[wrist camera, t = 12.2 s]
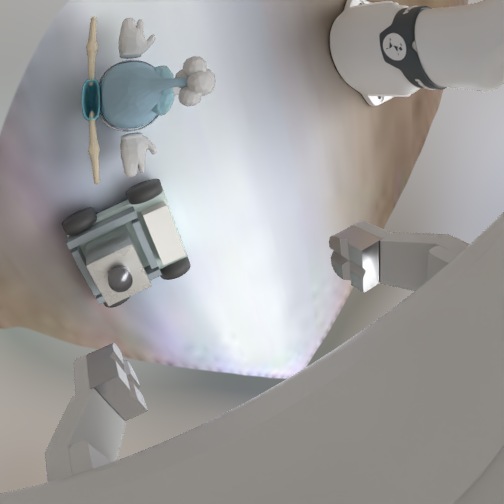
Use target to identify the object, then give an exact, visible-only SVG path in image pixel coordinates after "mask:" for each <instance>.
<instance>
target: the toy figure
mask: <svg viewBox="0 0 504 504" xmlns="http://www.w3.org/2000/svg"><path fill="white" fill-rule="evenodd" d="M96 22H97V18H95V17H92V18H91V23H90V32H89V40H88V44H87V46H86V48H87V55H88V73H89V80H87V81H85V83H84V85H83V89H82V110H83V115H84V118H85V119H86V120H88V121H89V130H90V146H89V151H88V152H89V154H90V157H91V162H92V169H93V176H94V183H95V184H98V183H99V182H100V177H99V159H98V155H99V151H100V147H99V144H98V142H97V134H96V123H95V120H96V119H97V118H98V117H99V114H100V117H101V118H102V120H103V122H104V123H106V124H107V125H108V126H109V127H111V128H113V129H116V130H119V131H136V130H140V129H142V128H145V127H147V126H148V125H150V124H151V123H153V121H154V120H155V119H156V118H157V117H158V115H164V114H166V113H167V112H168V111H169V110H170V108H171V105H172V103H173V101H174V95H179V100H180V102H181V103H182V104H183V105H185V106H194V105H195V104H197V103H199V102H200V100H201V96H204V95H206V94H208V93H210V92H211V91H212V90H213V88H214V85H215V76H214V74H213V72H212V71H211V70H209V69H206V61H204V60H203V59H202V58H201V57H191V58H189V59H187V60H186V61H185V62H184V65H183V69H182V70H180V71H179V72H178V73H177V74H176V77H175V78H173V74H172V73H171V71H170V70H169V68H168V67H167V66H159V67H156V68H154V67H153V66H152V65H150V64H148V63H146V62H143V61H139V60H128V61H122V62H119V63H117V64H115V65H113V66H111V67H110V68H109V69H108V70H110V69H111V68H112V67H114V66H116V65H118V66H116V67H114V68H112V69H111V70H110V71H109V72H108V73H107V74H106V75H105V73H106V72H107V71H108V70H106V71H105V72H104V74H103V75H102V77H101V79H100V81H99V83H98V81H97V80H96V79H95V76H94V74H95V58H96V54H97V51H98V50H97V47H98V44H97V42H96ZM154 40H155V35H151V36H150V37H149V39H148V40H145V37H144V33H143V22H142V20H141V19H140V20H139V21H138V22H137V26H136V24H135V21H134V19H133V18H127V19H125V20H124V21H123V22H122V27H121V32H120V37H119V52H120V57H121V58H126V59H128V58H137V57H141V54H143V53H144V52H145V51H146V50H147V49H148V48H149V47H150V46H151V45H152V44H153V42H154ZM122 63H123V64H122ZM119 64H120V65H119ZM104 75H105V76H104ZM103 76H104V78H103ZM102 78H103V80H102ZM101 80H102V82H101ZM100 83H101V85H100ZM180 88H181V90H180ZM100 110H101V113H102V115H103V117H104V119H105V120H106V121H108V122H109V123H110V124H111V125H113V126H116V127H119V128H126V129H128V128H137V127H141V126H143V125H145V124H147V123H149V122H150V121H151V122H150V123H149V124H147V125H146V126H144V127H142V128H139V129H135V130H120V129H117V128H114V127H112V126H110V125H109V124H108V123H107V122H106V121H105V120H104V119H103V117H102V116H101V113H100ZM147 149H149V150H150V152H151V153H152V154H155V153H156V147H155V146H154V144H153V143H152V142H151V141H150V140H149V139H148V138H147V137H145V136H143V135H142V133H138V132H137V133H129V134H125V135H123V136H122V137H121V144H120V150H121V158H122V162H123V167H124V172H125V174H126V176H127V177H134V176H135V175H136V174H137V169H138V168H139V171H140V173H143V172H144V171H145V154H146V150H147Z"/></svg>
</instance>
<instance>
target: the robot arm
mask: <svg viewBox="0 0 504 504" xmlns="http://www.w3.org/2000/svg"><path fill="white" fill-rule="evenodd" d="M330 49H331V54H332V58H333V61H334V64H335V66H336V68H337V70H338V72H339V73H340V75H341V76H342V78H343V79H344V80H345V81H346V82H347V83H348V84H349V85H350V86H351V87H352V88H354V89H355V90H357V91H358V92H360V93H361V94H362V95H363V97H364V98H365V100H366V101H367V103H368V104H369V105H370V106H378V105H380V104H382V103H383V102H385V101H387V100H389V99H391V98H393V97H409V96H410V95H411V94H412V93H415V92H416V91H417V90H419V89H420V88H426V89H429V90H435V89H445V88H447V87H450V88H460V89H467V90H474V91H482V92H489V91H493V90H495V89H497V88H499V87H500V86H501V85H502V84H503V83H504V0H483V1H480V2H478V3H474V4H470V5H461V6H453V7H443V8H430V7H427V6H412V7H409V8H408V7H407V6H403V5H398V3H396V2H392V1H383V2H375V3H371V2H368V1H365V0H347V2H346V5H345V8H344V11H343V12H342V13H341V14H340V15H339V16H338V17H337V18H336V20H335V21H334V23H333V25H332V28H331V33H330ZM329 247H330V248H331V249H332V250H333V253H332V256H331V263H332V267H333V269H334V271H335V273H336V274H337V275H338V276H339V277H341V278H342V279H344V280H350V281H351V285H352V286H354V287H355V288H357V289H358V290H360V291H361V292H363V293H364V292H366V291H368V290H369V289H371V288H372V287H374V286H375V285H377V284H379V283H380V284H384V285H389V286H393V287H398V288H403V289H407V290H413V291H415V292H413V293H412V294H411V295H410V296H408V297H407V298H406V299H404V300H403V301H402V302H400V303H399V304H398V305H397V306H395V307H394V308H393V309H391V310H390V311H389V312H387V313H386V314H385V315H383V316H382V317H380V318H379V319H378V320H376V321H375V322H374V323H372V324H371V325H369V326H368V327H366V328H365V329H364V330H362V331H361V332H359V333H358V334H357V335H355V336H354V337H352V338H351V339H349V340H348V341H346V342H345V343H343V344H342V345H340V346H339V347H337V348H336V349H334V350H333V351H331V352H330V353H328V354H327V355H325V356H323V357H322V358H320V359H319V360H317V361H316V362H314V363H312V364H311V365H309V366H308V367H306V368H304V369H303V370H301V371H300V372H298V373H296V374H295V375H293V376H291V377H290V378H288V379H286V380H284V381H283V382H281V383H279V384H278V385H276V386H274V387H272V388H271V389H269V390H267V391H265V392H264V393H262V394H260V395H258V396H256V397H255V398H253V399H251V400H249V401H247V402H246V403H243V404H242V405H240V406H238V407H236V408H234V409H232V410H230V411H228V412H226V413H224V414H222V415H220V416H218V417H216V418H214V419H212V420H210V421H208V422H206V423H204V424H202V425H200V426H198V427H196V428H194V429H191V430H189V431H187V432H185V433H183V434H180V435H178V436H176V437H174V438H171V439H169V440H167V441H164V442H162V443H160V444H158V445H155V446H153V447H150V448H148V449H145V450H143V451H140V452H138V453H135V454H133V455H130V456H128V457H125V458H122V459H120V460H117V459H118V454H119V450H120V445H121V441H122V437H123V433H124V429H125V425H126V422H125V421H127V420H129V419H131V418H133V417H136V416H138V415H140V414H142V413H144V412H146V411H148V410H147V408H146V404H145V401H144V398H143V395H142V394H141V393H140V391H139V387H140V385H139V381H138V379H137V376H136V374H135V372H134V370H133V369H132V367H131V365H130V364H129V362H128V361H127V360H124V359H123V358H122V354H121V351H120V350H119V348H118V347H117V345H116V344H114V343H112V344H110V345H107V346H105V347H103V348H101V349H98V350H96V351H94V352H92V353H89V354H88V355H84V356H83V357H80V358H78V359H76V360H75V361H74V378H75V379H74V380H75V394H76V396H74V397H72V398H71V400H70V402H69V404H68V406H67V408H66V410H65V412H64V414H63V416H62V418H61V420H60V422H59V424H58V426H57V428H56V430H55V433H54V434H53V437H52V439H51V441H50V443H49V445H48V447H47V449H46V452H45V459H46V471H47V480H48V482H47V483H44V484H40V485H35V486H31V487H27V488H23V489H19V490H14V491H9V492H4V493H0V504H504V212H503V213H502V214H501V215H500V216H499V217H498V218H497V219H496V220H495V221H494V222H493V223H492V224H491V225H490V226H489V227H488V228H487V229H486V230H485V231H484V232H483V233H482V234H480V235H479V236H478V237H477V238H476V239H475V240H474V241H473V242H472V243H471V244H468V243H466V242H464V241H462V240H460V239H458V238H455V237H453V236H451V235H449V234H429V233H409V232H393V233H390V232H388V231H386V230H384V229H381V228H379V227H377V226H375V225H372V224H370V223H368V222H366V221H358V222H357V223H355V224H353V225H351V226H350V227H348V228H347V229H345V230H343V231H341V232H339V233H337V234H335V235H333V236H331V237H330V240H329Z"/></svg>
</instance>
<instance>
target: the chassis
mask: <svg viewBox="0 0 504 504" xmlns="http://www.w3.org/2000/svg"><path fill="white" fill-rule="evenodd" d="M126 195H127V198H128V200H126V201H124V202H121V203H119V204H117V205H115V206H113V207H110V208H108V209H106V210H104V211H102V212H100V213H98V214H96V213H95V211H94V209H93V208H92V207H89V208H85V209H83V210H80V211H78V212H76V213H74V214H73V215H71V216H70V217H68V218H67V219H66V220H65V221H64V222H63V223H62V226H63V228H64V230H65V232H66V235H67V242H66V244H67V246H68V248H69V250H71V249H72V250H71V254H72V256H73V258H74V260H75V262H76V264H77V266H78V267H79V269H80V271H81V273H82V275H83V277H84V278H85V280H86V282H87V284H88V286H89V287H90V289H91V291H92V293H93V294H94V296H96V299H97V301H98V303H99V305H100V304H102V303H104V305H105V306H106V307H116V306H119V305H121V304H122V303H124V302H125V301H127V300H128V299H129V297H127V298H125V299H123V300H121V301H119V302H117V303H115V304H113V305H111V306H108V305H107V303H106V301H105V299H104V298H103V296H102V294H101V292H100V291H99V289H98V287H97V285H96V284H95V282H94V280H93V278H92V276H91V274H90V272H89V271H88V269H87V267H86V243H88V242H90V241H92V240H95V239H97V238H99V237H101V236H103V235H105V234H107V233H109V232H111V231H113V230H116V229H118V228H120V227H122V226H124V225H126V227H127V229H128V231H129V234H130V236H131V238H132V241H133V243H134V245H135V247H136V250H137V252H138V254H139V256H140V259H141V261H142V263H143V266H144V268H145V271H146V273H147V276H148V278H149V281H150V280H152V279H154V278H156V277H159V276H161V278H163V279H166V280H170V279H175V278H178V277H180V276H182V275H183V274H185V273H186V272H187V271H188V270H189V268H190V262H189V260H188V256H187V253H186V251H185V248H184V245H183V243H182V240H181V237H180V235H179V232H178V229H177V227H176V224H175V221H174V219H173V216H172V213H171V210H170V207H169V205H168V202H167V199H166V196H165V193H164V190H163V189H162V186H161V183H160V180H159V179H152V180H148V181H145V182H142V183H140V184H137V185H135V186H134V187H132V188H130V189H129V190H128V191H127V192H126Z"/></svg>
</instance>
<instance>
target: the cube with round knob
mask: <svg viewBox="0 0 504 504" xmlns="http://www.w3.org/2000/svg"><path fill="white" fill-rule="evenodd" d="M86 267H87V269H88V271H89V272H90V274H91V276H92V278H93V280H94V282H95V284H96V285H97V287H98V289H99V291H100V292H101V294H102V296H103V298H104V299H105V301H106V303H107V305H108V306H111V305H113V304H115V303H117V302H119V301H121V300H123V299H125V298H127V297H130V296H132V295H134V294H136V293H138V292H140V291H142V290H144V289H146V288H149V287H151V283H150V281H149V278H148V276H147V273H146V271H145V268H144V266H143V263H142V261H141V259H140V256H139V254H138V252H137V250H136V247H135V245H134V243H133V241H132V238H131V236H130V234H129V231H128V229H127V227H126V225H124V226H122V227H120V228H118V229H116V230H113V231H111V232H109V233H107V234H105V235H103V236H101V237H99V238H97V239H95V240H92V241H90V242H88V243H86Z"/></svg>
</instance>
